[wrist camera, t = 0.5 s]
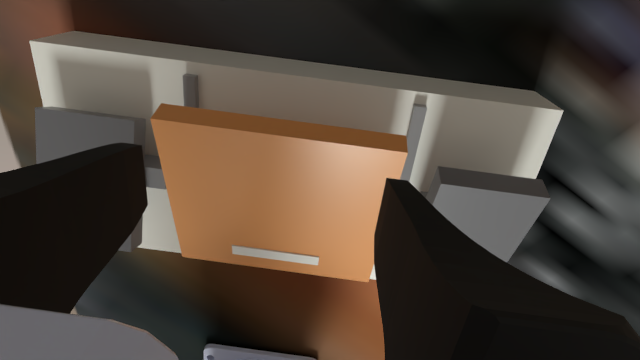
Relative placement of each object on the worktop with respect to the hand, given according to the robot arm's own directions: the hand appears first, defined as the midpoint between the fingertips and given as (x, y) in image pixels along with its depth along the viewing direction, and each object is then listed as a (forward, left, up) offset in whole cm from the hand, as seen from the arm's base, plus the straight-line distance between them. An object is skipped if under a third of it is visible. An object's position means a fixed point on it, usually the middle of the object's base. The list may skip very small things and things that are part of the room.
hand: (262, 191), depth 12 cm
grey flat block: (-3, -8, -4) cm, 10 cm away
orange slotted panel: (-3, 0, -4) cm, 5 cm away
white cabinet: (-3, 0, -9) cm, 10 cm away
